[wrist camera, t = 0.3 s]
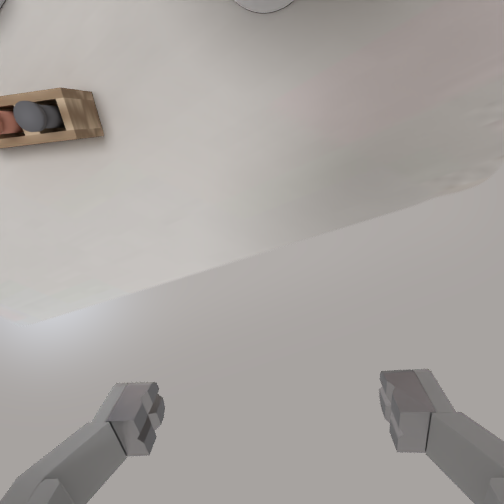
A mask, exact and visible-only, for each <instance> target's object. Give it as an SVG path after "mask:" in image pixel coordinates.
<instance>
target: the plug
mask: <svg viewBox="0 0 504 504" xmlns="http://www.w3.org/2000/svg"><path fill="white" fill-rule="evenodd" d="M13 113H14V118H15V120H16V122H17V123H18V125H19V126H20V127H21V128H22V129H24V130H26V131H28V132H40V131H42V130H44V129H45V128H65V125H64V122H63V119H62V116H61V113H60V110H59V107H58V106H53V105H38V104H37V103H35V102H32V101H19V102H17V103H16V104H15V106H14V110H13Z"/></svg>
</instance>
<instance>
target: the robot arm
mask: <svg viewBox="0 0 504 504" xmlns="http://www.w3.org/2000/svg"><path fill="white" fill-rule="evenodd" d="M234 1H235V2H236V3H238V4H239V5H240V6H242V7H244V8H245V9H248V10H250V11H253V12H258V13H268V12H274V11H277V10H279V9H282V8H284V7H285V6H287V5H288V4H290V3H291V2H292V1H293V0H234ZM380 381H381V384H382V387H381V388H380V389H379V392H380V393H379V394H380V403H381V407H382V411H383V414H384V417H385V419H386V420H387V421H388V422H389V423H390V434H391V437H392V439H393V442H394V445H395V448H396V450H397V452H417V453H418V452H419V453H426V455H427V456H428V457H429V458H430V459H431V460H432V461H433V462H434V463H435V464H436V465H437V466H438V467H439V468H440V469H441V470H442V471H443V472H444V473H445V474H446V475H447V476H448V477H449V478H450V479H451V480H452V481H453V482H454V483H455V484H456V485H457V486H458V487H459V488H460V489H461V491H463V492H464V494H465V495H466V496H467V497H468V498H469V499H470V500H471V501H472V502H473V503H474V504H504V441H502V440H501V439H500V438H498V437H497V436H495V435H494V434H492V433H491V432H489V431H488V430H487V429H485V428H484V427H482V426H481V425H479V424H478V423H476V422H475V421H474V420H472V419H471V418H469V417H468V416H466V415H465V414H463V413H462V412H456V411H455V409H454V408H453V406H452V405H451V403H450V401H449V400H448V398H447V396H446V395H445V393H444V392H443V390H442V388H441V387H440V385H439V383H438V382H437V380H436V379H435V377H434V375H433V374H432V372H431V371H430V370H429V369H415V370H394V371H381V373H380ZM158 390H159V388H158V385H157V383H155V382H140V383H138V382H136V383H117V384H116V385H114V386H113V388H112V389H111V391H110V393H109V394H108V396H107V397H106V399H105V401H104V402H103V404H102V406H101V407H100V409H99V411H98V412H97V414H96V416H95V417H94V419H93V420H92V422H91V423H86V424H85V425H84V426H83V427H81V428H80V429H79V430H77V431H76V432H75V433H74V434H72V435H71V436H70V437H68V438H67V439H66V440H65V441H63V442H62V443H61V444H60V445H58V446H57V447H56V448H54V449H53V450H52V451H51V452H49V453H48V454H47V455H46V456H44V457H43V458H42V459H40V460H39V461H38V462H37V463H35V464H34V465H33V466H31V467H30V468H29V469H28V470H26V471H25V472H24V473H22V474H21V475H20V476H19V477H18V478H17V479H16V480H15V482H14V483H13V484H12V486H11V487H10V488H9V490H8V491H7V493H6V494H5V495H4V497H3V498H2V500H1V501H0V504H86V503H87V502H88V501H89V500H90V499H91V498H92V497H93V496H94V494H95V493H96V492H97V491H98V490H99V489H100V488H101V486H102V485H103V484H104V483H105V481H107V480H108V479H109V477H110V476H111V475H112V474H113V473H114V472H115V470H116V469H117V468H118V467H119V466H120V465H121V464H122V463H123V461H124V460H125V459H126V458H127V457H126V456H143V455H150V452H151V450H152V447H153V444H154V442H155V439H156V433H155V430H156V429H157V428H158V427H159V426H160V425H161V423H162V420H163V418H164V410H165V406H164V401H163V398H162V397H161V396H159V394H157V393H158Z"/></svg>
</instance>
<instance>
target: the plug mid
mask: <svg viewBox="0 0 504 504" xmlns="http://www.w3.org/2000/svg"><path fill="white" fill-rule="evenodd" d="M9 133H24V131H23V129H22V128H21V127H20V126H19V125H18V123H17V122H16V120H15V118H14V113H13V111H0V135H1V134H9Z"/></svg>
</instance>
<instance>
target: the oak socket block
mask: <svg viewBox="0 0 504 504" xmlns="http://www.w3.org/2000/svg"><path fill="white" fill-rule="evenodd" d="M19 101H32V102H35V103H37V104H38V105H53V106H58V107H59V110H60V113H61V116H62V119H63V122H64V125H65V128H45V129H44V130H42V131H40V132H28V131H26V130H24V129H23V131H24V133H9V134H1V135H0V148H9V147H17V146H25V145H33V144H41V143H50V142H58V141H66V140H74V139H82V138H90V137H99V136H104V133H103V130H102V126H101V123H100V119H99V116H98V112H97V109H96V106H95V102H94V99H93V95H92V92H88V91H81V90H74V89H66V88H55V89H48V90H41V91H34V92H27V93H20V94H13V95H6V96H0V111H13V110H14V106H15V104H16V103H17V102H19Z"/></svg>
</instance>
